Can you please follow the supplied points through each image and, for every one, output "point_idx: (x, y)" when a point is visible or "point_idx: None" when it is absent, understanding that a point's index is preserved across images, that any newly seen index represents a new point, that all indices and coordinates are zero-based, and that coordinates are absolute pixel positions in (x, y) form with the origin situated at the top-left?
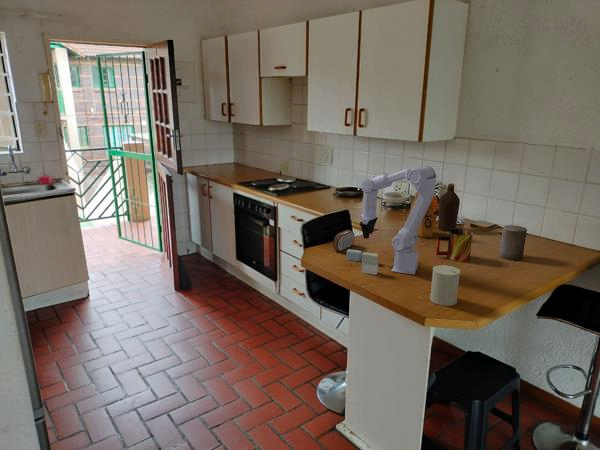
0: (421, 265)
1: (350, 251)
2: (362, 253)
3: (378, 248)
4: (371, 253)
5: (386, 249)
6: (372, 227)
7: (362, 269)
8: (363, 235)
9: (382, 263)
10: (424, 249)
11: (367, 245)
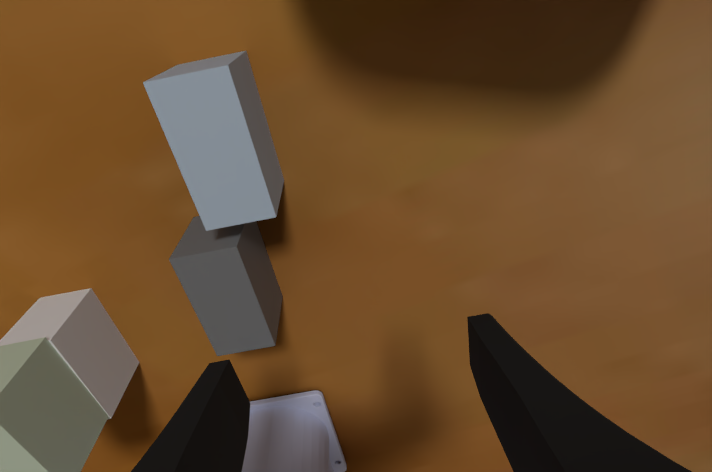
0: (401, 464)
1: (173, 127)
2: (215, 253)
3: (622, 189)
4: (22, 461)
5: (613, 248)
6: (512, 451)
7: (25, 318)
8: (187, 399)
9: (302, 330)
10: (675, 409)
11: (691, 64)
